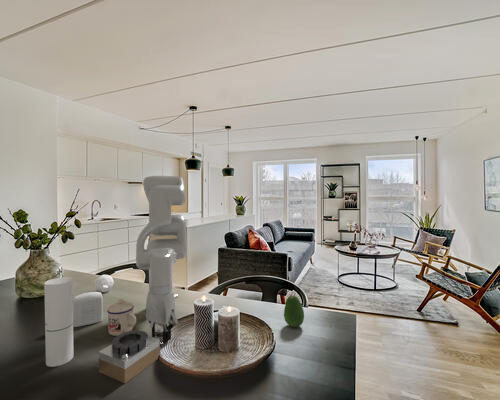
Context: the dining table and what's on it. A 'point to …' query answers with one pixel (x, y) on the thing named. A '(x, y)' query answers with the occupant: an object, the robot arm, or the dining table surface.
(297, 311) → the avocado
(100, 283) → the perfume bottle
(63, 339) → the cylindrical container
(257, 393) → the dining table surface
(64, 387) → the dining table surface
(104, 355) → the camera body
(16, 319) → the dining table surface
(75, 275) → the dining table surface
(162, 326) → the lens
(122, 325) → the teacup with lid
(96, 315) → the photo printer
